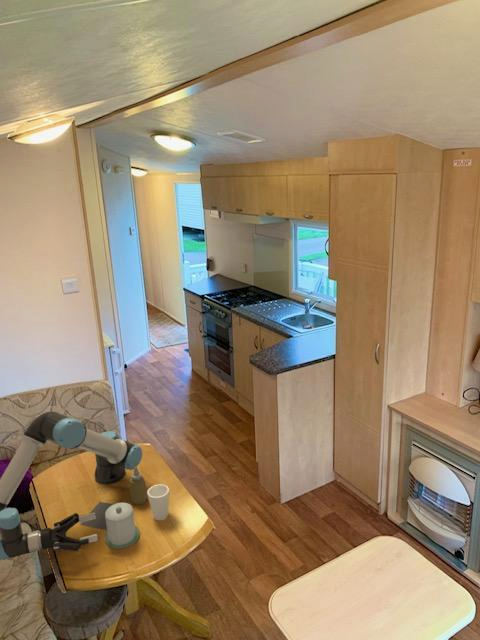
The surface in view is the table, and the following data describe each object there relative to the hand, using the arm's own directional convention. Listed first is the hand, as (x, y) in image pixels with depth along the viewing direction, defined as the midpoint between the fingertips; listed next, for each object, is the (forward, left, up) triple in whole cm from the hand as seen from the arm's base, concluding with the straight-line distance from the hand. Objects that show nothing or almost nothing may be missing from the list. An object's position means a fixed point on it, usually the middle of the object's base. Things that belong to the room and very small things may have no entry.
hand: (96, 526), depth 201 cm
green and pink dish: (-6, +8, -9) cm, 13 cm away
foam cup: (-22, +18, -9) cm, 29 cm away
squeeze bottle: (-29, +4, -9) cm, 30 cm away
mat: (-16, -7, -9) cm, 19 cm away
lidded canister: (-6, +8, -8) cm, 12 cm away
